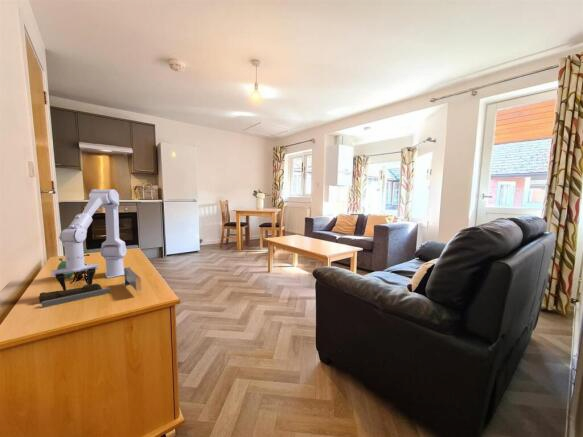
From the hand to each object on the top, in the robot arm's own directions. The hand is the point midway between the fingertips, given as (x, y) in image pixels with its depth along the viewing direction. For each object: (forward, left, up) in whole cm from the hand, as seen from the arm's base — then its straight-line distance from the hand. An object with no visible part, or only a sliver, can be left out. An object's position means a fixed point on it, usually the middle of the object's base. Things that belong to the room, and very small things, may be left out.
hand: (77, 288), depth 101 cm
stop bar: (+8, 0, -2) cm, 8 cm away
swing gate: (+11, +18, -2) cm, 21 cm away
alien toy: (-30, -3, -2) cm, 30 cm away
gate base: (+2, +17, -2) cm, 18 cm away
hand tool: (+4, -2, -2) cm, 5 cm away
